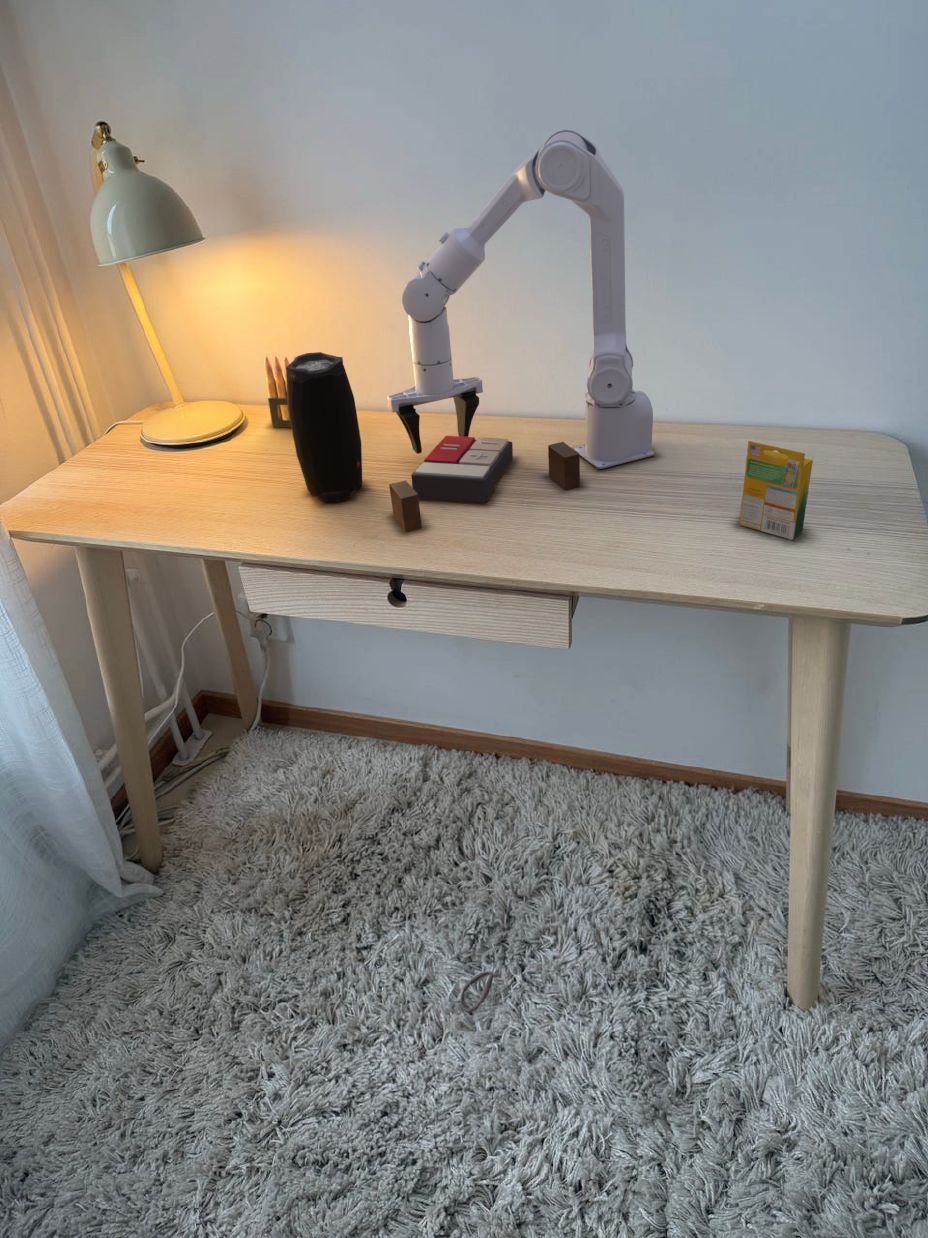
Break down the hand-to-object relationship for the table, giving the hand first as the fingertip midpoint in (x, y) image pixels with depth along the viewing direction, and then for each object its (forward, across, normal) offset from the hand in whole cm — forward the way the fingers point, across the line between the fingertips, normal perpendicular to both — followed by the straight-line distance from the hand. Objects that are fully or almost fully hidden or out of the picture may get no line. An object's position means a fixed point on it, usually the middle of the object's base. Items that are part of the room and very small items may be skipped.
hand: (440, 445), depth 141 cm
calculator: (+2, 0, +10) cm, 10 cm away
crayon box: (+2, -28, +43) cm, 52 cm away
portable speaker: (+2, +18, +4) cm, 18 cm away
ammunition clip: (+2, +16, -24) cm, 29 cm away
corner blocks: (+2, 0, +18) cm, 18 cm away
